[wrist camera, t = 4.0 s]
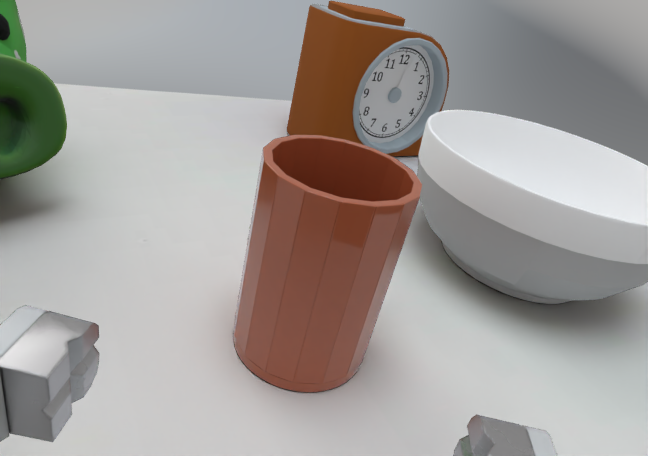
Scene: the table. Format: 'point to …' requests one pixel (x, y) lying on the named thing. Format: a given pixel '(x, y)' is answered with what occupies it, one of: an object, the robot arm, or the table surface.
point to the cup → (319, 258)
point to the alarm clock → (367, 79)
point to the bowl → (534, 207)
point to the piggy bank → (25, 103)
